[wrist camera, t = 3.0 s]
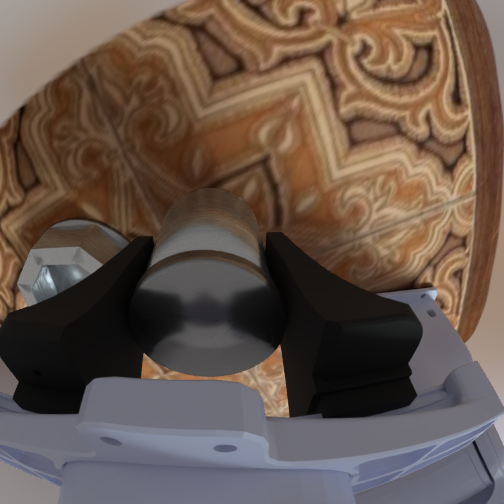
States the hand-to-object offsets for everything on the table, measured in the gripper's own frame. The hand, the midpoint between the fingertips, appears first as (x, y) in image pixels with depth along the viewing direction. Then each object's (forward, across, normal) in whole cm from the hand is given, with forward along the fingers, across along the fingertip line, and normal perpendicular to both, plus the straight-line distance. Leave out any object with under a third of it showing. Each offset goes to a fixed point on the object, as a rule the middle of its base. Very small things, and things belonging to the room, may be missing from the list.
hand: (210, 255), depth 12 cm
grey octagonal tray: (+4, +8, +4) cm, 10 cm away
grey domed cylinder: (+2, 0, 0) cm, 2 cm away
